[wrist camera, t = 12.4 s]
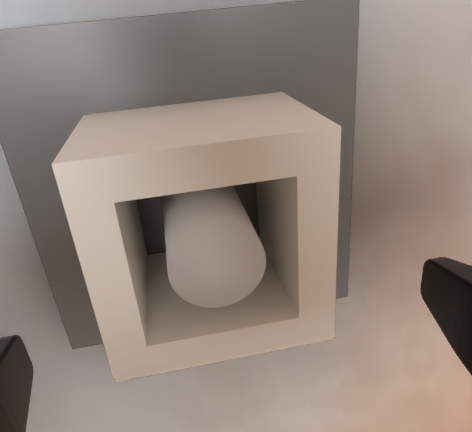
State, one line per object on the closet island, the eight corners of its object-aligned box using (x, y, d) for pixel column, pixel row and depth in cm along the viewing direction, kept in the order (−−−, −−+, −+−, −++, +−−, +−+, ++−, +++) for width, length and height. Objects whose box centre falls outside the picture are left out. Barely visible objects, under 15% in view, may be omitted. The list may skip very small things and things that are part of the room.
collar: (124, 283, 16) (114, 382, 12) (83, 114, 13) (51, 164, 9) (286, 255, 17) (334, 339, 13) (282, 91, 14) (341, 126, 10)
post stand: (76, 332, 18) (45, 464, 13) (-25, 32, 13) (-148, 45, 8) (338, 283, 20) (408, 383, 14) (346, -4, 14) (462, -15, 9)
